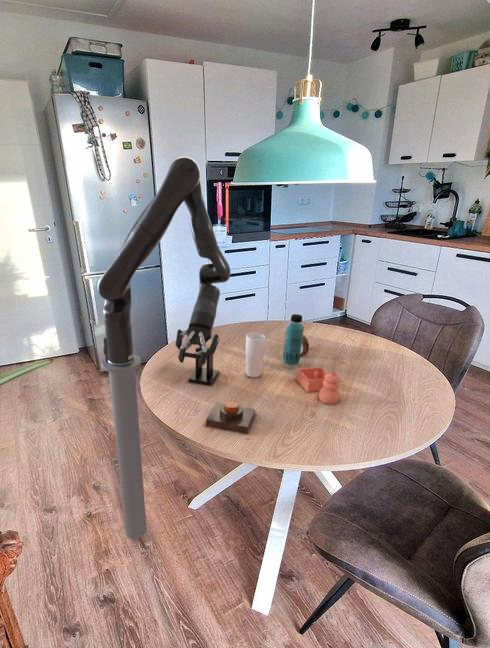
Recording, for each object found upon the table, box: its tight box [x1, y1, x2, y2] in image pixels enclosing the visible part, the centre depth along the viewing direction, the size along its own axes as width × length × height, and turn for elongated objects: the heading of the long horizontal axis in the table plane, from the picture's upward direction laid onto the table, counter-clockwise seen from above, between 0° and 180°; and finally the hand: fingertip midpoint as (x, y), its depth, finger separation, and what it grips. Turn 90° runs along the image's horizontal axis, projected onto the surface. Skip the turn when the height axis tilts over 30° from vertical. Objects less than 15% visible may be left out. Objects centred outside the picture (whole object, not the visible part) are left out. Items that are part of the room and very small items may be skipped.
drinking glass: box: [245, 332, 267, 378], centre depth 137 cm, size 7×7×15 cm
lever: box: [183, 348, 203, 360], centre depth 127 cm, size 14×6×2 cm, turn 165°
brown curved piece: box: [284, 332, 310, 356], centre depth 159 cm, size 15×3×8 cm, turn 22°
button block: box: [205, 401, 256, 435], centre depth 112 cm, size 12×10×4 cm
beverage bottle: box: [282, 313, 305, 366], centre depth 144 cm, size 6×7×20 cm
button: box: [224, 400, 239, 413], centre depth 111 cm, size 4×4×2 cm
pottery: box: [295, 366, 341, 405], centre depth 129 cm, size 18×10×10 cm, turn 14°
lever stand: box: [188, 345, 220, 386], centre depth 134 cm, size 10×8×12 cm
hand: (191, 363), depth 120 cm, fingers closed on lever, 6 cm apart
